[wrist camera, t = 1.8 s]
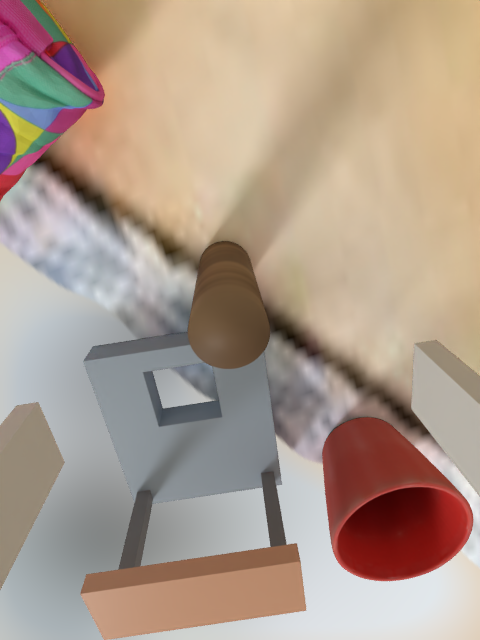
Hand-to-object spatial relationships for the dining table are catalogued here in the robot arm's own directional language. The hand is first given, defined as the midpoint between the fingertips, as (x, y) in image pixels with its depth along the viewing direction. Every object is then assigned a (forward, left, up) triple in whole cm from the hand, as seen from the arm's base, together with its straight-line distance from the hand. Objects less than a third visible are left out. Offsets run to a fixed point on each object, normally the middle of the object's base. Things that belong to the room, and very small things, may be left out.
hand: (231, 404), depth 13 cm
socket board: (+13, -5, -17) cm, 22 cm away
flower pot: (+20, +10, -18) cm, 29 cm away
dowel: (0, 0, -18) cm, 18 cm away
